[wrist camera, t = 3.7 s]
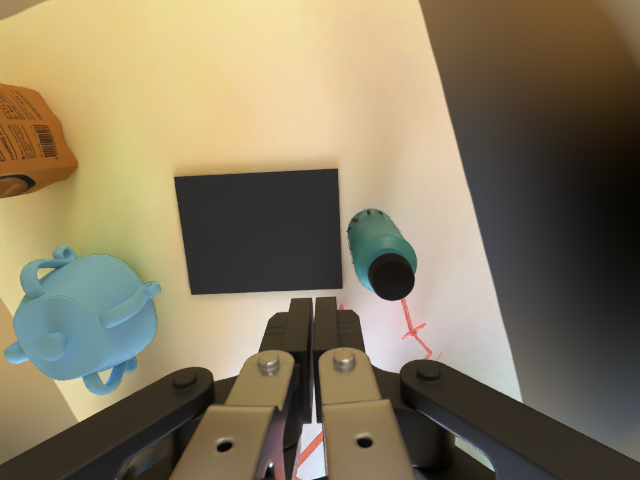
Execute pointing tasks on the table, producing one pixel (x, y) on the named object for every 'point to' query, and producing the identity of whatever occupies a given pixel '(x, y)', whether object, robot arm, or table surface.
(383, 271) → the beverage bottle
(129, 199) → the table surface
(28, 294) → the decorative pot
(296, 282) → the mat
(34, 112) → the coffee package
